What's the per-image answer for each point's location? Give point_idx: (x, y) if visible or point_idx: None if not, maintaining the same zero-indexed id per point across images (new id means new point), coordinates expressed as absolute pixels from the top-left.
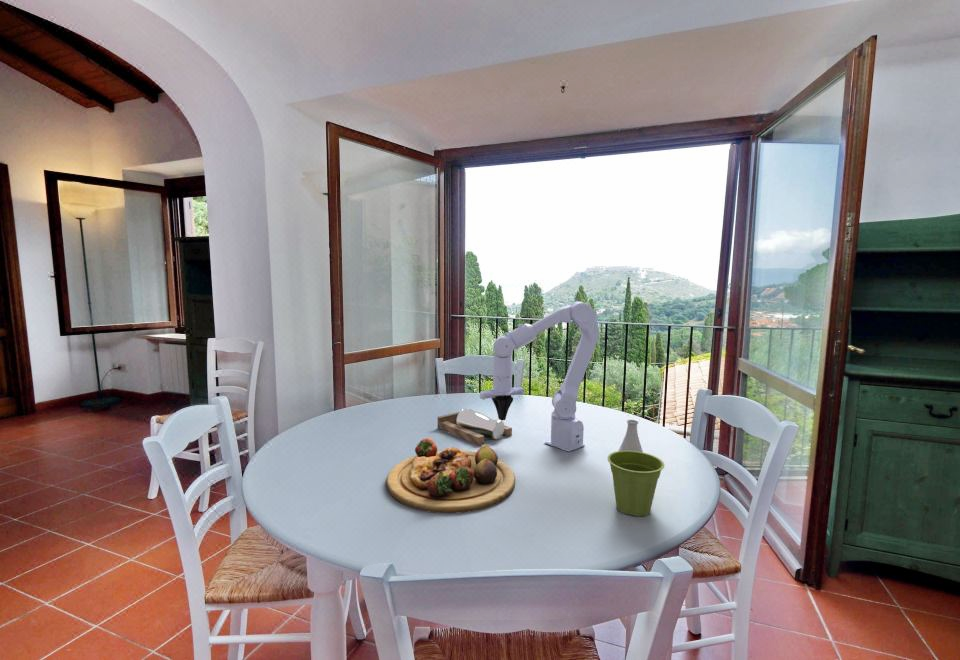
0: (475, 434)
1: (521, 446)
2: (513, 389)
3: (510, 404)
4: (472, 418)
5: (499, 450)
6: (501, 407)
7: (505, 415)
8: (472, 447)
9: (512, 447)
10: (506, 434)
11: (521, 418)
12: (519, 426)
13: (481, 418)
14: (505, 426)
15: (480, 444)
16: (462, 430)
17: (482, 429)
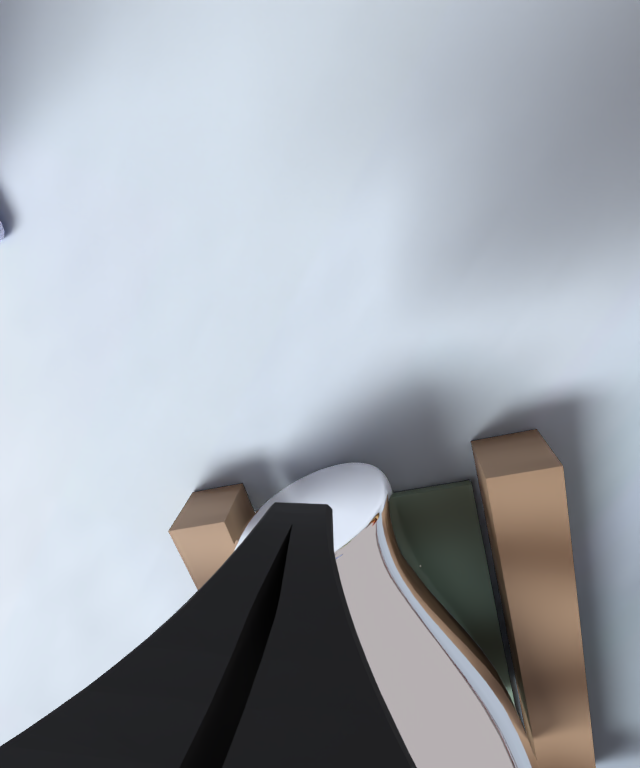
0: (535, 535)
1: (218, 263)
2: None
3: (77, 697)
4: (483, 738)
5: (441, 258)
6: (346, 679)
7: (265, 537)
8: (603, 414)
9: (300, 274)
10: (236, 495)
11: (26, 681)
12: (81, 594)
13: (420, 701)
14: (204, 574)
15: (511, 435)
16: (570, 644)
17: (429, 584)
